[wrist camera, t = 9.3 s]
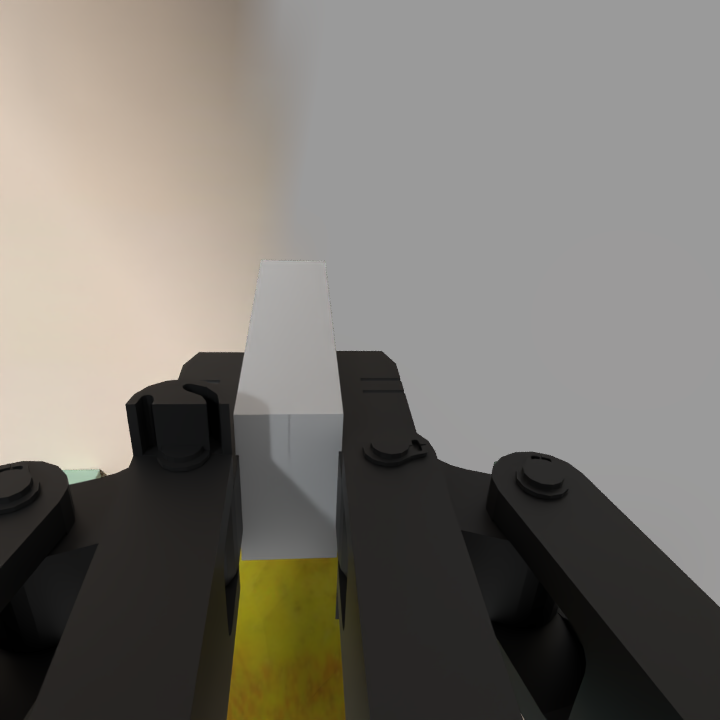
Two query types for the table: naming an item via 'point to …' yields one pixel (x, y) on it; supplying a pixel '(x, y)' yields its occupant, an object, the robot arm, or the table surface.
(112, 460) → the table surface
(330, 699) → the fruit
